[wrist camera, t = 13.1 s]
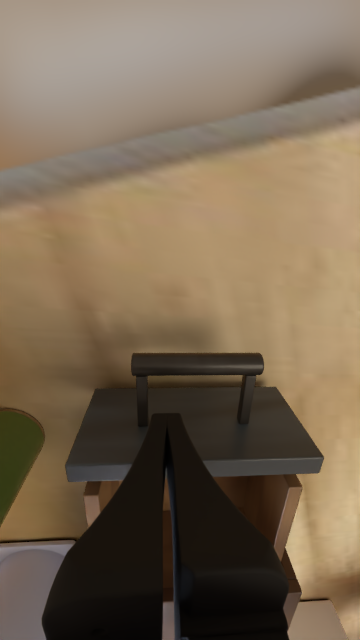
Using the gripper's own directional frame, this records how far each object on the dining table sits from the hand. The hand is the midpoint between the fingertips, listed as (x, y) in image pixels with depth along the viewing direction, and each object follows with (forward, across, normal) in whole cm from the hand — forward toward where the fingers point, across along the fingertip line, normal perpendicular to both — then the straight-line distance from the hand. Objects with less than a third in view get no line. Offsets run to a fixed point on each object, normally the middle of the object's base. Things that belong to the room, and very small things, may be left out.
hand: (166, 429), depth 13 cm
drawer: (+6, -2, +6) cm, 8 cm away
